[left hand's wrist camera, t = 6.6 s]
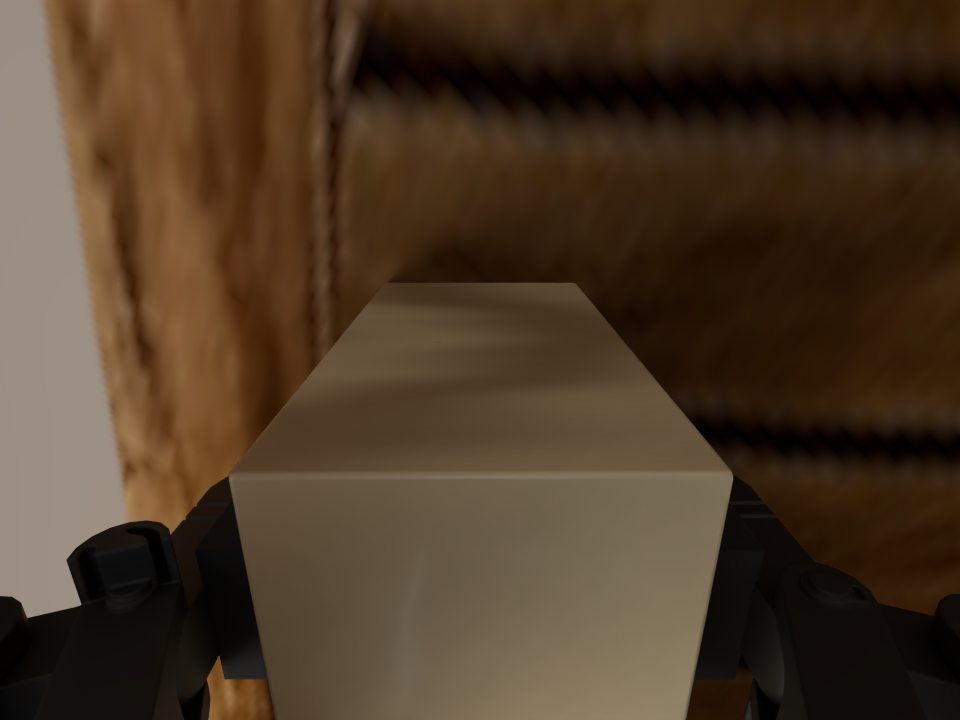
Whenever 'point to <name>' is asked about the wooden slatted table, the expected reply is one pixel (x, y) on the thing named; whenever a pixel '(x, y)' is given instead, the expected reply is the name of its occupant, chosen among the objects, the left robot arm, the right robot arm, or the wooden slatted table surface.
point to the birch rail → (480, 518)
